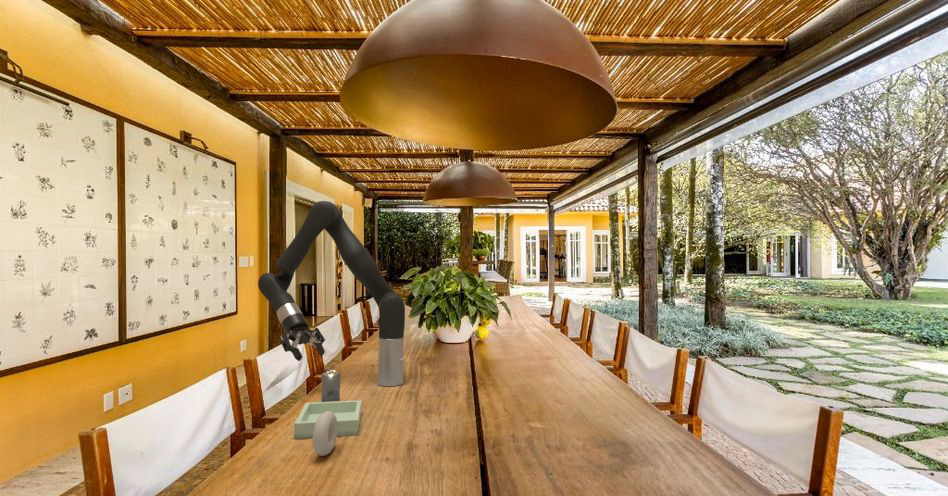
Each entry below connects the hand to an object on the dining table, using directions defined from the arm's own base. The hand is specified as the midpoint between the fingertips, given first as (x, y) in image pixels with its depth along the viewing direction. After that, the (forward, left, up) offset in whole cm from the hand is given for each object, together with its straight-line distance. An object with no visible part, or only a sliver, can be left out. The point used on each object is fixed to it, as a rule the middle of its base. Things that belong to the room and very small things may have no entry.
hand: (311, 356), depth 144 cm
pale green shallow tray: (-9, +24, -14) cm, 29 cm away
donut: (-10, +42, -14) cm, 46 cm away
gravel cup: (-7, +7, -14) cm, 17 cm away
